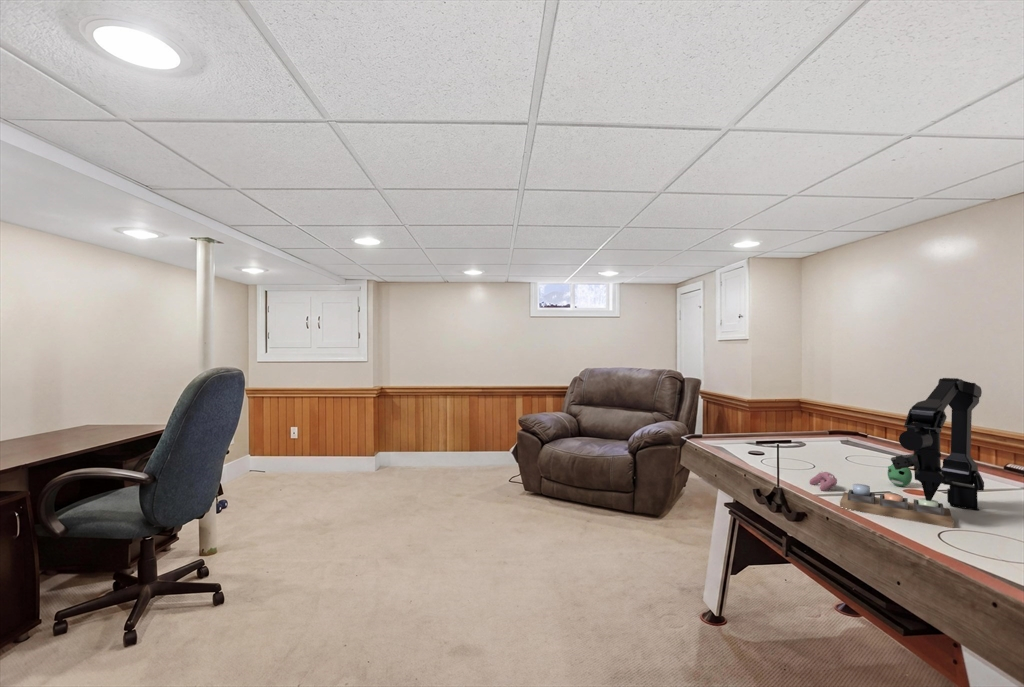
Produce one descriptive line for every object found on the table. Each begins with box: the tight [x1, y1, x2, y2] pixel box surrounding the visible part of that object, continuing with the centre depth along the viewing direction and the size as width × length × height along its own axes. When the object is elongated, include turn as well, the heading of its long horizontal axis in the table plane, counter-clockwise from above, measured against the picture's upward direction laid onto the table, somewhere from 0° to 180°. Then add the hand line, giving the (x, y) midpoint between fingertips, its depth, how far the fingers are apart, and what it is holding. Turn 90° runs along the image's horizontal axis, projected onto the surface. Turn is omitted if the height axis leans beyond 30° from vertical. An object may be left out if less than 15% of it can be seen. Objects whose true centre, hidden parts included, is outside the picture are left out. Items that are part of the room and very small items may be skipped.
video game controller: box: [809, 471, 838, 492], centre depth 170 cm, size 10×5×7 cm, turn 170°
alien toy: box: [887, 463, 913, 487], centre depth 174 cm, size 7×8×10 cm
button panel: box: [839, 489, 954, 529], centre depth 145 cm, size 26×14×4 cm, turn 50°
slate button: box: [852, 483, 871, 497], centre depth 150 cm, size 4×4×3 cm
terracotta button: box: [883, 492, 904, 502], centre depth 145 cm, size 4×4×3 cm
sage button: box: [917, 497, 939, 507], centre depth 139 cm, size 4×4×3 cm
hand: (928, 500), depth 139 cm, fingers closed, pressing on sage button
